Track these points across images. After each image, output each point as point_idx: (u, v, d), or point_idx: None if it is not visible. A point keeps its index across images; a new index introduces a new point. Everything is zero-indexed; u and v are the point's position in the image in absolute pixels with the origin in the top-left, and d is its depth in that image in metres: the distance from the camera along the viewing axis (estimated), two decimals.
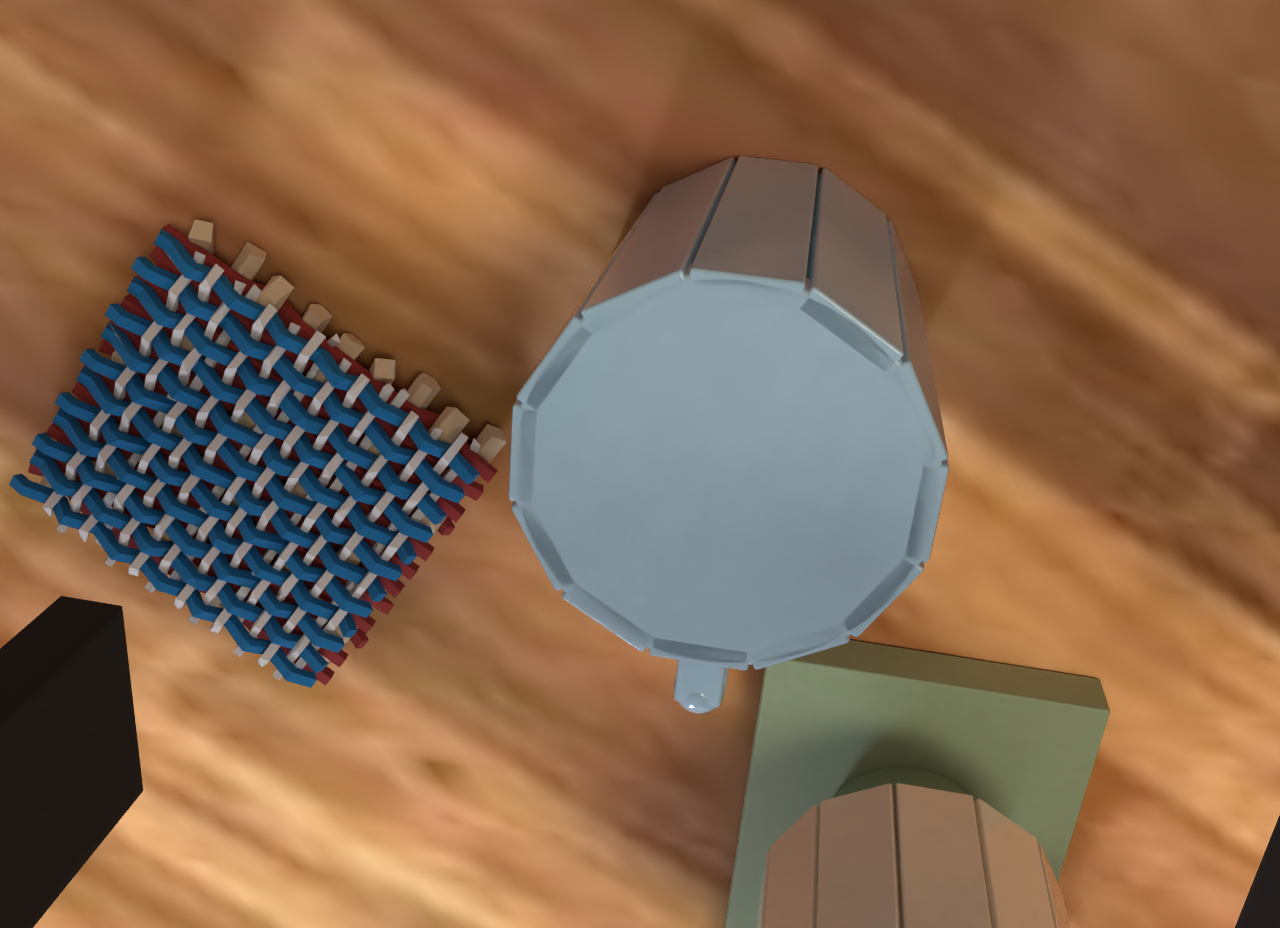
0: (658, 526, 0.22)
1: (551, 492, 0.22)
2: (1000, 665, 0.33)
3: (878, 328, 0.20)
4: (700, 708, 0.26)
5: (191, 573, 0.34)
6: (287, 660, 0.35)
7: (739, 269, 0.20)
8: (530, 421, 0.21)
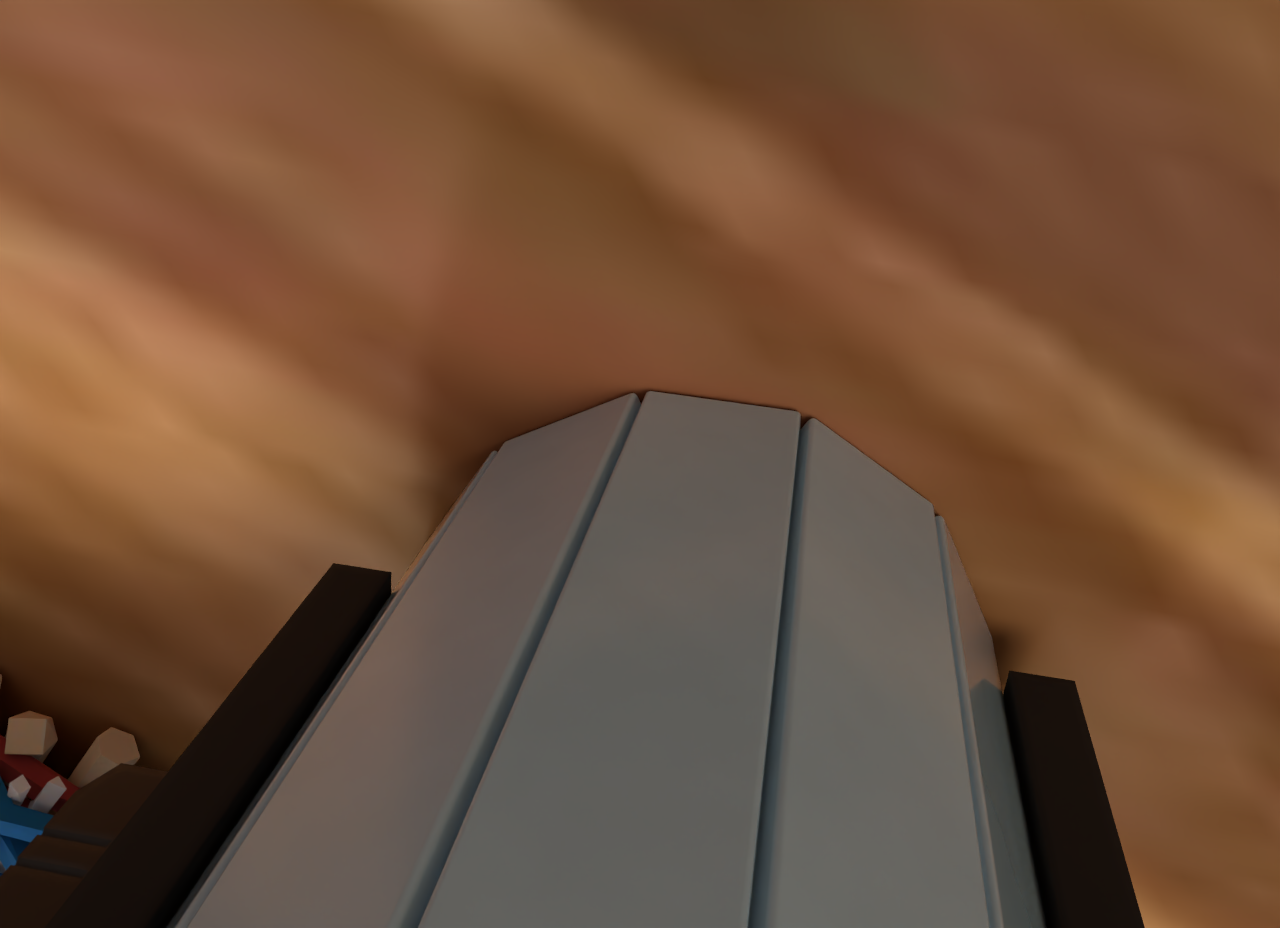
0: None
1: None
2: None
3: None
4: None
5: None
6: None
7: None
8: None
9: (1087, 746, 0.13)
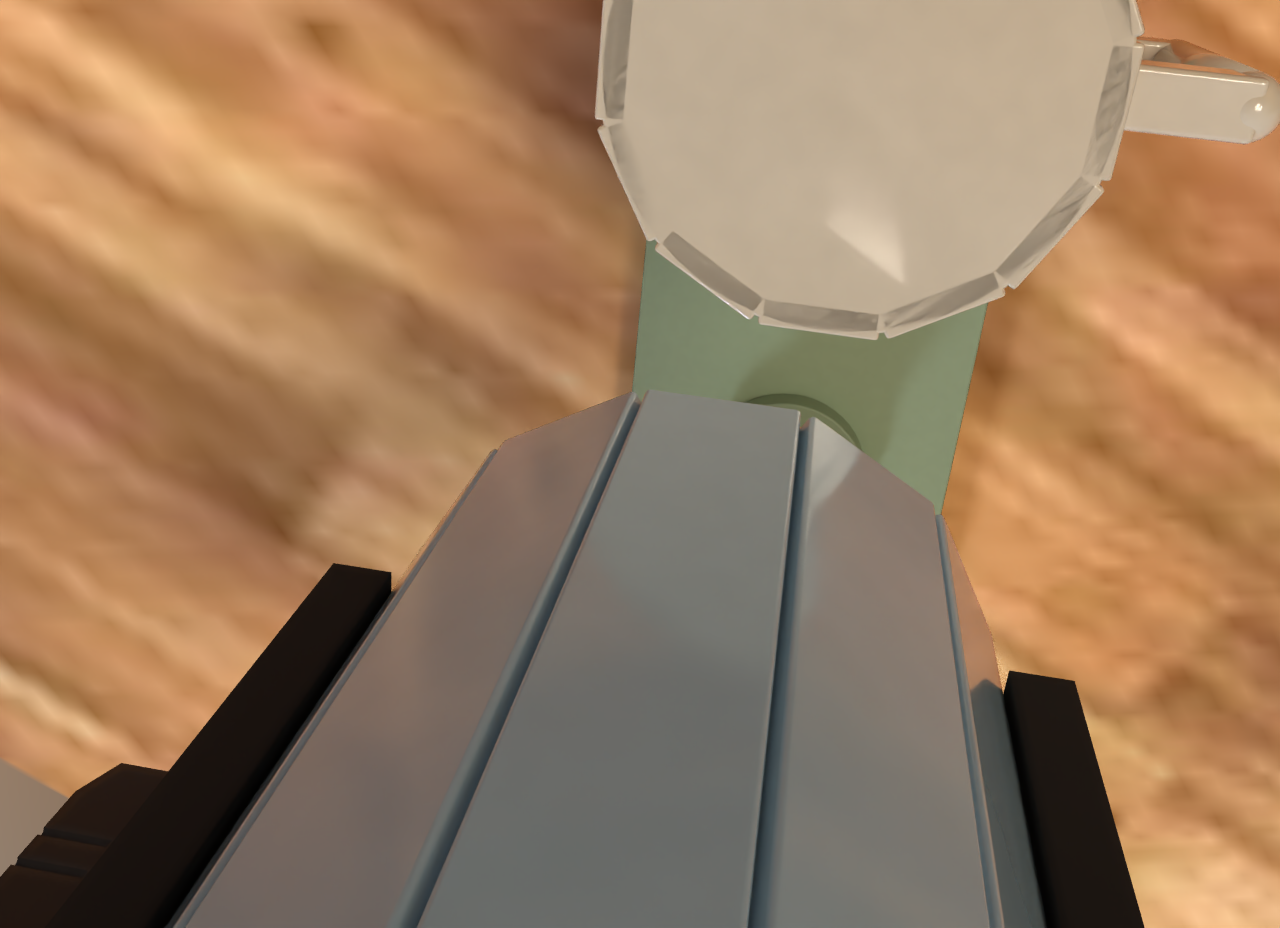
0: None
1: None
2: None
3: None
4: None
5: None
6: None
7: None
8: None
9: (1087, 746, 0.13)
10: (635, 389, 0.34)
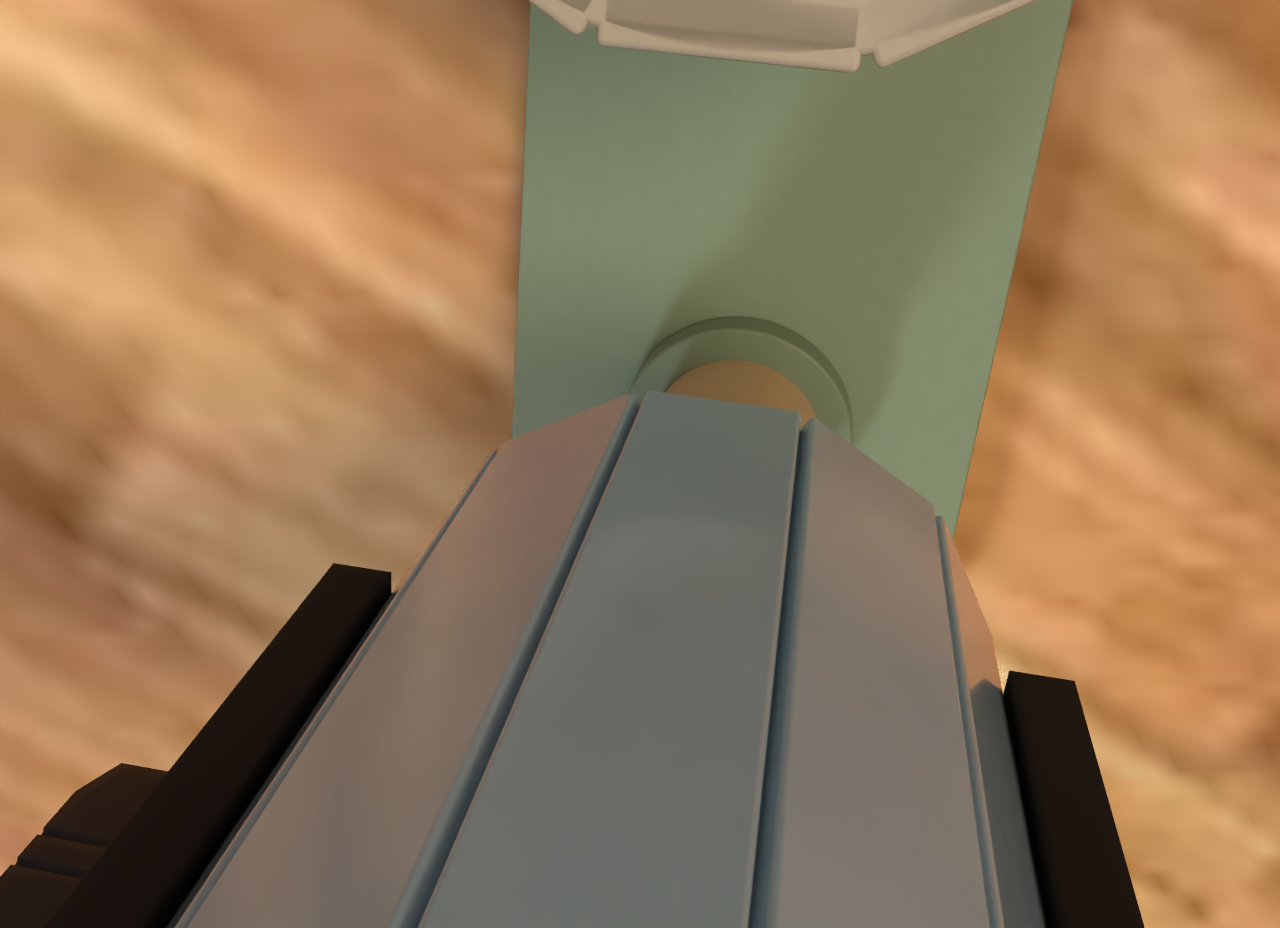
0: None
1: None
2: None
3: None
4: None
5: None
6: None
7: None
8: None
9: (1087, 746, 0.13)
10: (521, 314, 0.23)
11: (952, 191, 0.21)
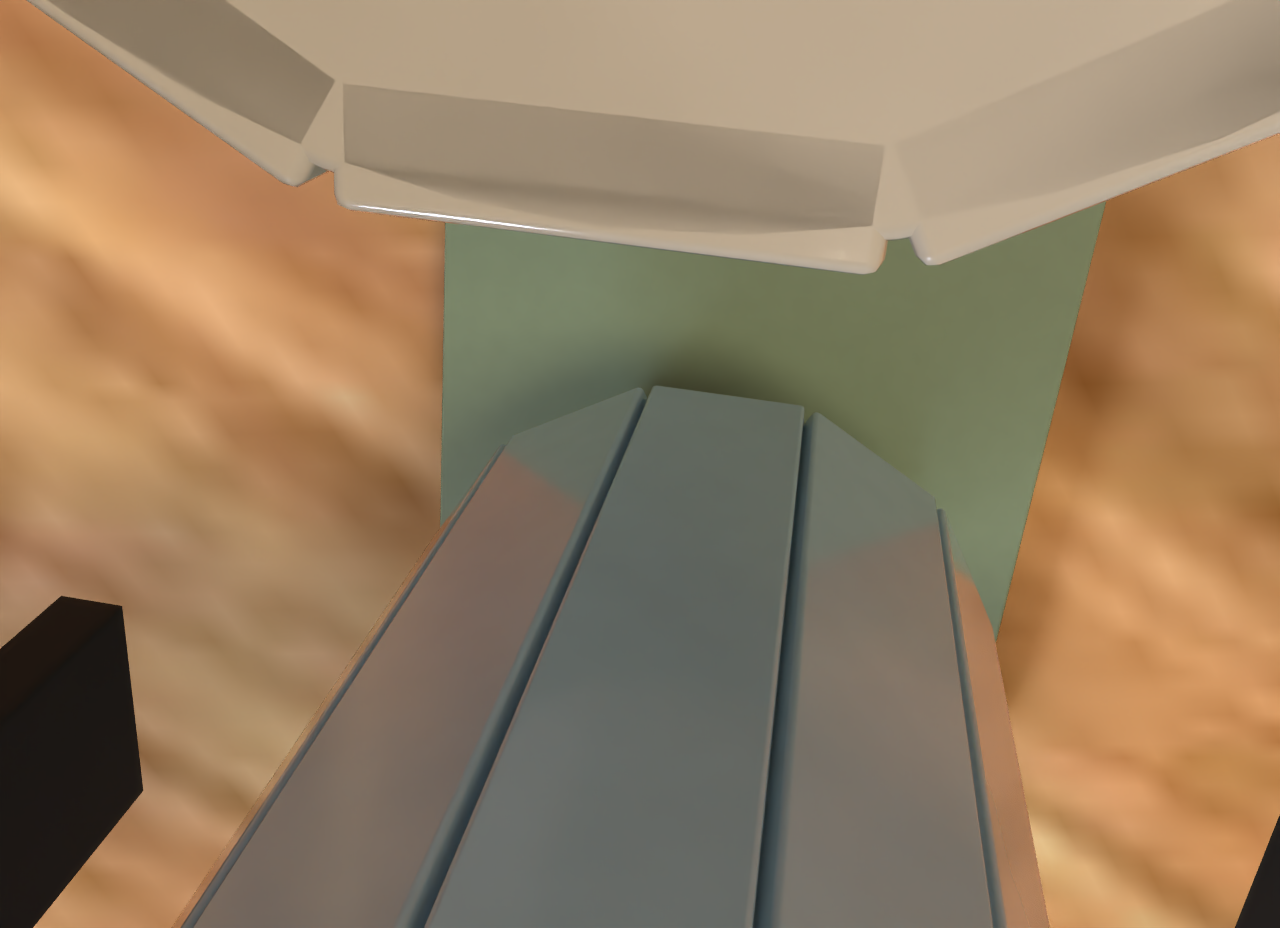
0: None
1: None
2: None
3: None
4: None
5: None
6: None
7: None
8: None
9: None
10: (446, 418, 0.19)
11: (986, 276, 0.17)
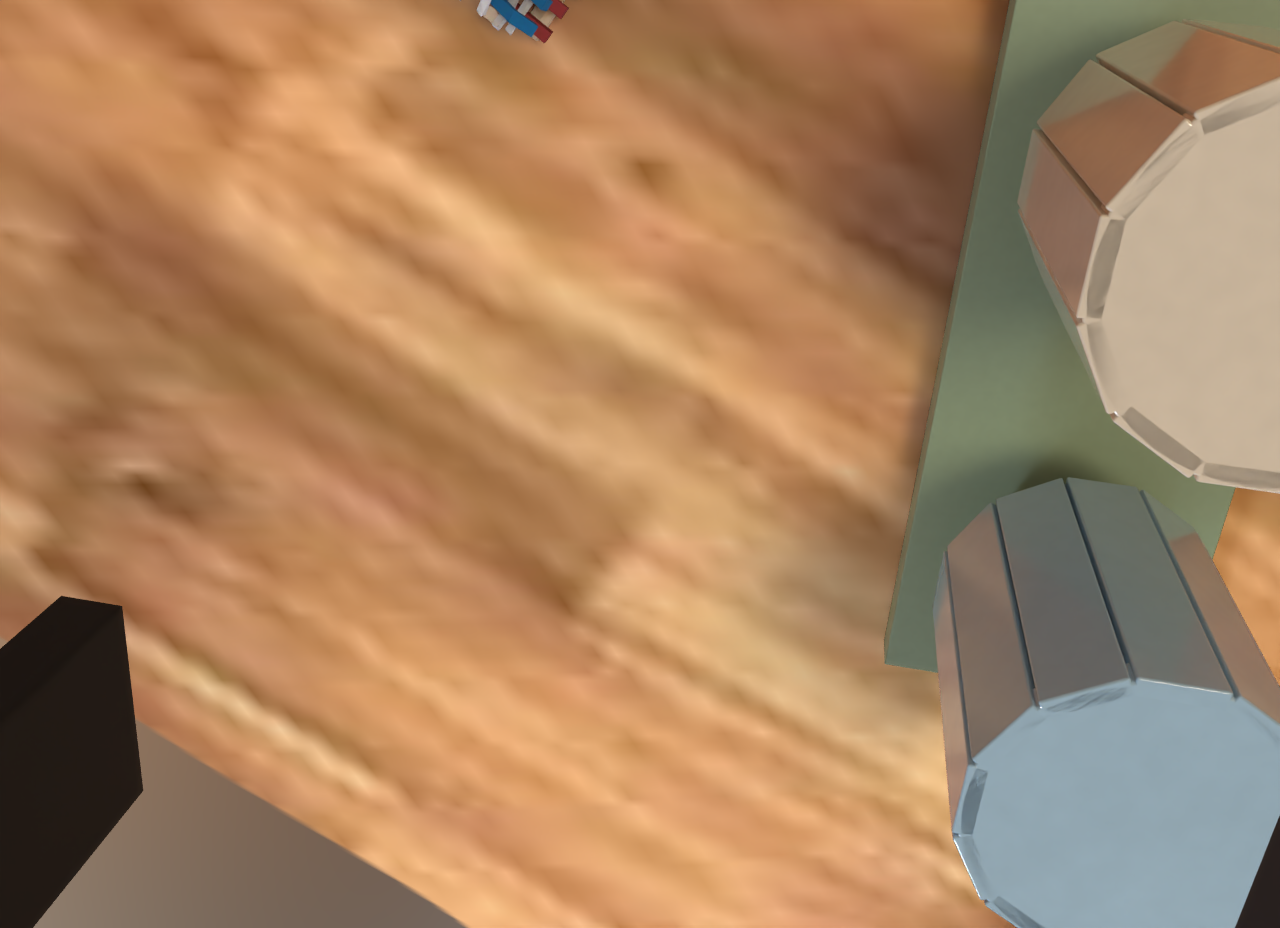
0: (1079, 858, 0.27)
1: (990, 829, 0.27)
2: None
3: None
4: None
5: None
6: (509, 3, 0.34)
7: (1174, 675, 0.25)
8: (982, 777, 0.26)
9: None
10: (923, 485, 0.38)
11: None
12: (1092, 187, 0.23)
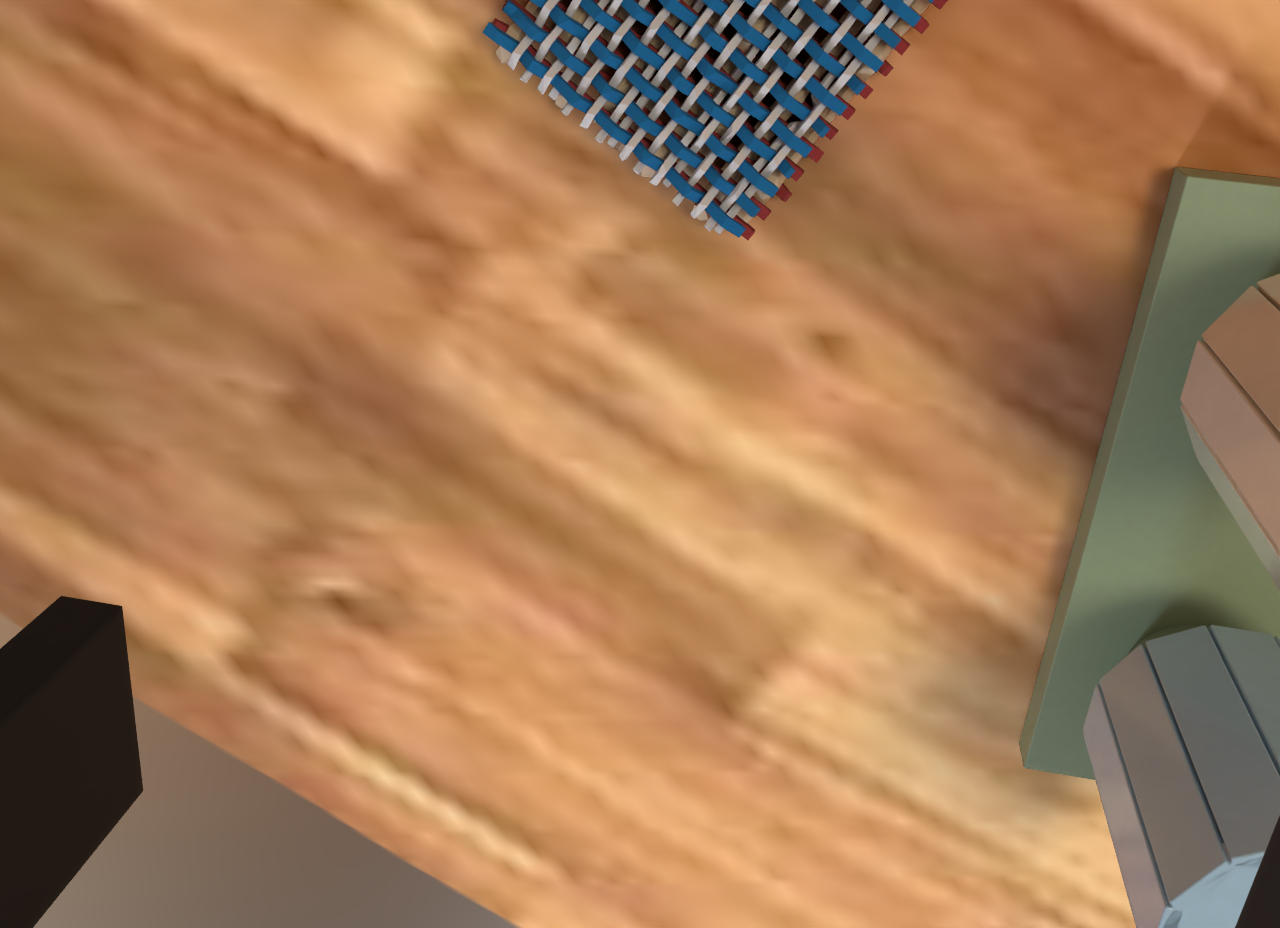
0: None
1: None
2: None
3: None
4: None
5: (646, 116, 0.37)
6: (721, 209, 0.38)
7: None
8: (1177, 917, 0.31)
9: None
10: (1068, 617, 0.42)
11: None
12: None
